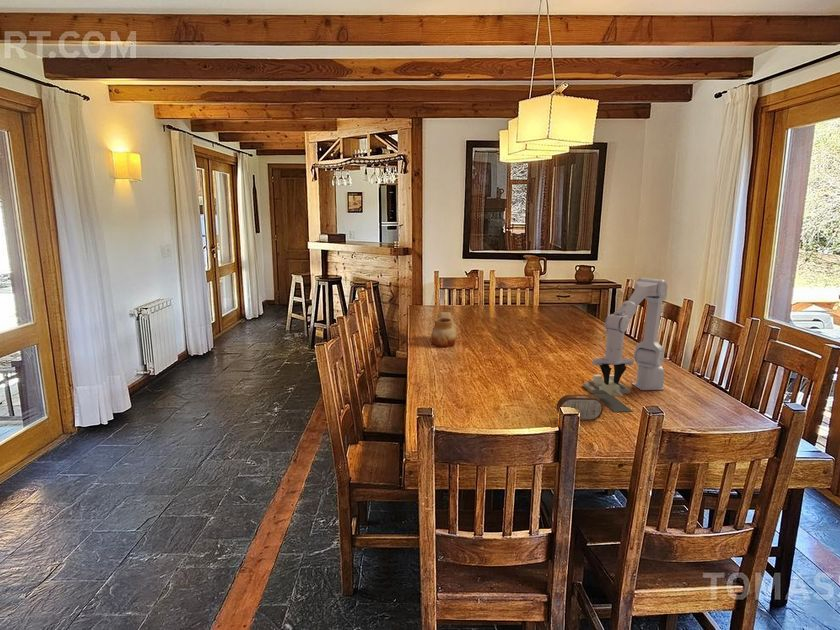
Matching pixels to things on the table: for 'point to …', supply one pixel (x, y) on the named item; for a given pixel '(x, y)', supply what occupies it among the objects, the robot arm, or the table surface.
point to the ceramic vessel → (444, 331)
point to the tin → (583, 405)
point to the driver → (611, 388)
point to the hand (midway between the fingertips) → (611, 383)
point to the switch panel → (597, 389)
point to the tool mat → (613, 403)
